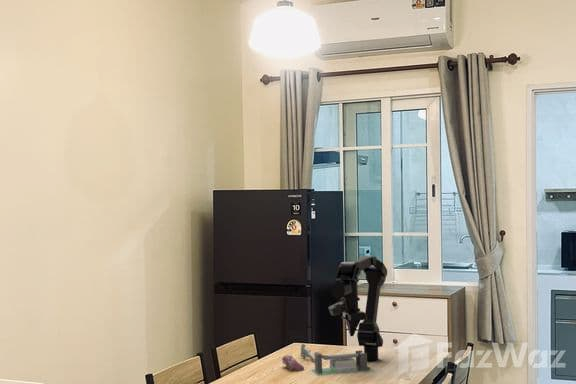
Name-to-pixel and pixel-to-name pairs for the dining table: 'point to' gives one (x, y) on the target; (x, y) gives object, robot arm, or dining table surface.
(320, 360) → the post
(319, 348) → the dining table surface
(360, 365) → the hinge post
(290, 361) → the purple rounded piece
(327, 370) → the board
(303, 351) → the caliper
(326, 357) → the strap
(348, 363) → the heatsink
